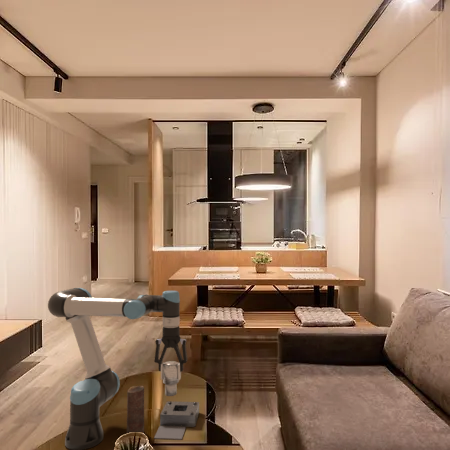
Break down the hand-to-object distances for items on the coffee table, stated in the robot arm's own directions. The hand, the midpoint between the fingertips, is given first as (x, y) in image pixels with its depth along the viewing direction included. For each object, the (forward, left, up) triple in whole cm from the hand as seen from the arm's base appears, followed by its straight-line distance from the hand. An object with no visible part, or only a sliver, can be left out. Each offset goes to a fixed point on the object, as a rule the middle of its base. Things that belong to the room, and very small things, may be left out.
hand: (170, 378), depth 160 cm
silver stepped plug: (0, 0, -7) cm, 7 cm away
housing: (+2, +13, -23) cm, 27 cm away
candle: (-15, -2, -24) cm, 28 cm away
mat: (0, 0, -23) cm, 23 cm away
